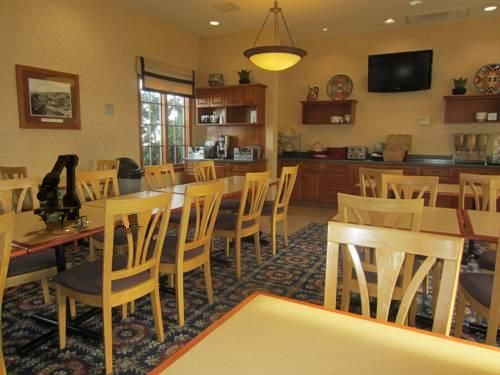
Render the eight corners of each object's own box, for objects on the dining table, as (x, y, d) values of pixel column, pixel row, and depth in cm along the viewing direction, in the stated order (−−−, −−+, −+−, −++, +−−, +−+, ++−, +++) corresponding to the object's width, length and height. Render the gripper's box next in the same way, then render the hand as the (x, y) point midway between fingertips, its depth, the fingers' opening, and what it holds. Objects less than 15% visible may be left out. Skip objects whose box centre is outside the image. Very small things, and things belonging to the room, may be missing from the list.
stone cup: (140, 221, 225) (139, 197, 222) (143, 226, 214) (142, 200, 212) (113, 223, 219) (112, 198, 216) (115, 228, 208) (114, 202, 206)
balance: (70, 226, 212) (69, 213, 211) (78, 224, 216) (77, 211, 215) (85, 230, 203) (84, 216, 202) (93, 228, 208) (93, 215, 206)
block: (52, 226, 211) (51, 214, 210) (59, 226, 211) (58, 214, 210) (49, 228, 207) (48, 216, 206) (57, 228, 208) (56, 216, 206)
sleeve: (50, 226, 212) (49, 219, 211) (62, 225, 213) (62, 219, 212) (46, 229, 205) (45, 222, 205) (59, 228, 206) (58, 221, 206)
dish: (68, 228, 208) (68, 226, 208) (79, 231, 202) (79, 229, 201) (48, 232, 199) (48, 230, 199) (59, 236, 193) (59, 234, 192)
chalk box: (48, 216, 237) (46, 193, 235) (51, 213, 246) (50, 190, 243) (64, 215, 239) (62, 192, 237) (67, 212, 248) (65, 190, 246)
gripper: (28, 201, 197) (30, 230, 199) (66, 200, 200) (68, 228, 203) (36, 197, 208) (38, 225, 210) (72, 196, 211) (74, 223, 214)
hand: (54, 225), depth 209 cm, fingers open, 8 cm apart
